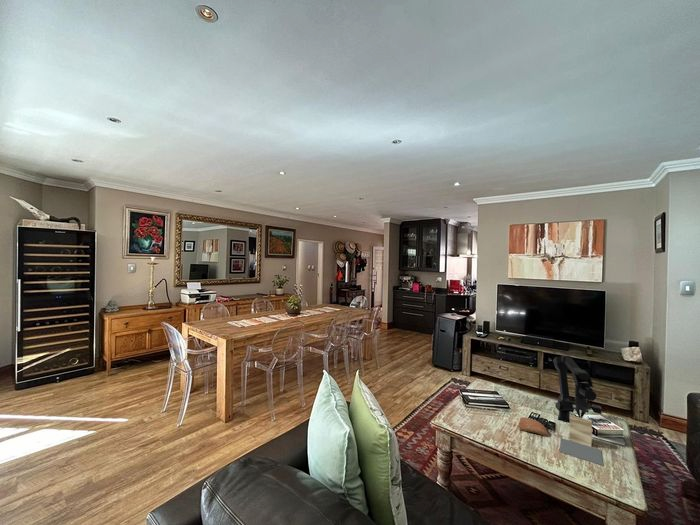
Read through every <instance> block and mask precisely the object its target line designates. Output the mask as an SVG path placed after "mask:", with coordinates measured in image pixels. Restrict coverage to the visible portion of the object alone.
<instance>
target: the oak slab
mask: <svg viewBox="0 0 700 525" xmlns="http://www.w3.org/2000/svg"><path fill="white" fill-rule="evenodd" d="M592 428H593V422H592V420H591V419H587V418H584V417H583V418H580V417H578V416H575V415H571V414H570V423H569V429H568V430H569V431H568V432H569V433H568V436H569V437H568V440H570V441H573V442H577V443H580V444H583V445H587V446H590V447H592V438H593V436H592V434H593V433H592V432H593V431H592V430H593V429H592Z"/></svg>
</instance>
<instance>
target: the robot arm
mask: <svg viewBox="0 0 700 525" xmlns="http://www.w3.org/2000/svg"><path fill="white" fill-rule="evenodd" d="M552 361H553V362H552V363H553V365H554V368H555V369H556V370H557V376H558V384H559V394H560V395H559V396H558V398H557V401H556V403H555V405H554V406H555V409H556V410H557V411H558V415H557V420H558V421H562V422H566V423H569V424H570V415H571V414H570V413H574V411H576V414H577V417H580V418H583V419H584V416H585V414H586V413H589V411H590V410H591V411H592V412H593V413H595V414H597V415H598V414H599V415H601V414H602V407H601V406H600V405H597V404H594V403H593V404H591V403H590V402H592V401H593V402H594V401H595V400H596V399H597V394H596V392H595V391H594V389H593V387H594V386H593V380H592V379H591V375H590V374H589V373H588V372H587V371H586V370H584V369H581V368H580V367H579V365H578V364H577V363H576V362H575V361H574V360H573V357H572V356H570V355H562V356H555V357H554V358H553V360H552ZM568 370H569V371H570V372H571V374H572V375H571V376H572V378H573V383H574V399H573V398H572V397H571V396H570V391H569V381H568V374H567V373H568ZM588 401H590V402H588Z"/></svg>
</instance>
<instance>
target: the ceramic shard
mask: <svg viewBox="0 0 700 525" xmlns="http://www.w3.org/2000/svg"><path fill="white" fill-rule="evenodd" d="M518 430H519V431H521V432H529V433H534V434H537V435H541V436H542V437H543V436H544V437H548V430H547V428H546V427H545V425H543V424H542V423H541V422H539V421H538V420H536V419H534V420H533V418H531V419H530V417H520V419H519V420H518Z"/></svg>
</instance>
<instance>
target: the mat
mask: <svg viewBox="0 0 700 525" xmlns="http://www.w3.org/2000/svg"><path fill="white" fill-rule="evenodd" d="M559 441H560V442H559V444H560V445H559V453H561V454H564V455H568V456H571V457H574V458H577V459H580V460H583V461H587V462H590V463H593V464H596V465H599V466H604V463H603V456H602V450H601V449H599V448H596V447H594V446H591V447H590V446H587V445H583V444H580V443H577V442H573V441H570V440H569V439H566V438H563V437H560V440H559Z"/></svg>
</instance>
